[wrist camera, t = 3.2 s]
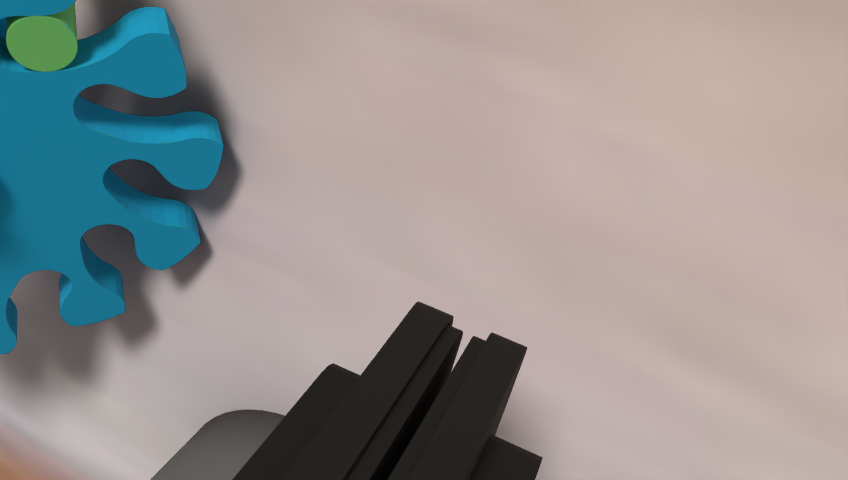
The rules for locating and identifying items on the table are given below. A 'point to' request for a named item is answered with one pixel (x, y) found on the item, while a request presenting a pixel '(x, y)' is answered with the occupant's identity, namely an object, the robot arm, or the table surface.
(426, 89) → the table surface
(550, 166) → the table surface
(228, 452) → the wheel
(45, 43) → the gear
